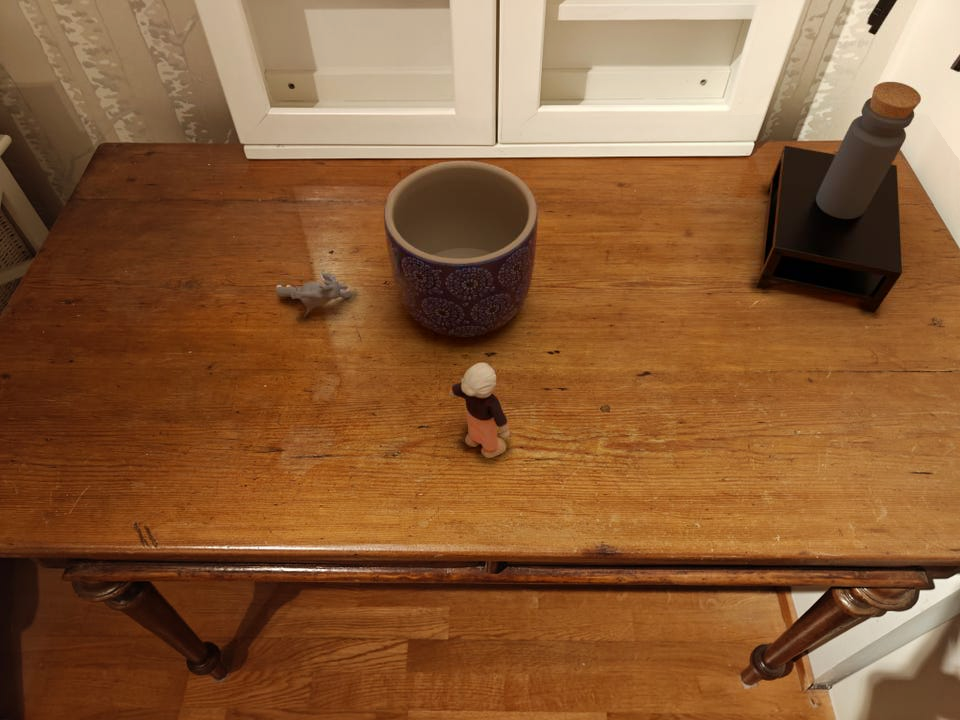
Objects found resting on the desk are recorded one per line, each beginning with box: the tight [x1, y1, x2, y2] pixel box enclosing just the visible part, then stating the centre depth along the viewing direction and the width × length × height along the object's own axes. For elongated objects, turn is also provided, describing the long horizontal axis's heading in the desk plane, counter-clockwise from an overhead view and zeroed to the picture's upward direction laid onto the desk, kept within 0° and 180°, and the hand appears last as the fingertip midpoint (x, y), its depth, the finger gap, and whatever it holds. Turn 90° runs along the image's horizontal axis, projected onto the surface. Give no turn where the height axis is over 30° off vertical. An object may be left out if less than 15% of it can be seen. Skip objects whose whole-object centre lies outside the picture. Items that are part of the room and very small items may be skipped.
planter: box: [383, 160, 539, 338], centre depth 80 cm, size 16×17×15 cm
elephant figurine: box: [275, 269, 353, 319], centre depth 84 cm, size 10×6×9 cm
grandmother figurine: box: [449, 362, 511, 459], centre depth 69 cm, size 8×4×13 cm, turn 59°
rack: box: [755, 145, 903, 314], centre depth 89 cm, size 14×20×7 cm
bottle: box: [816, 81, 922, 219], centre depth 80 cm, size 6×6×15 cm
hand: (912, 51), depth 68 cm, fingers open, 8 cm apart
